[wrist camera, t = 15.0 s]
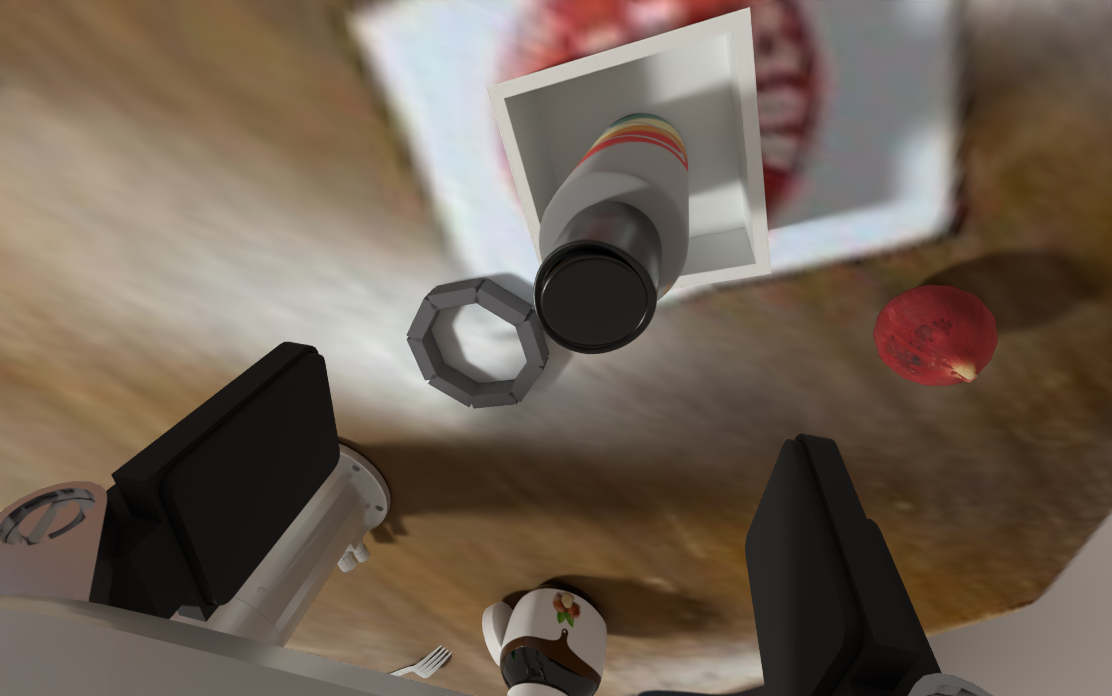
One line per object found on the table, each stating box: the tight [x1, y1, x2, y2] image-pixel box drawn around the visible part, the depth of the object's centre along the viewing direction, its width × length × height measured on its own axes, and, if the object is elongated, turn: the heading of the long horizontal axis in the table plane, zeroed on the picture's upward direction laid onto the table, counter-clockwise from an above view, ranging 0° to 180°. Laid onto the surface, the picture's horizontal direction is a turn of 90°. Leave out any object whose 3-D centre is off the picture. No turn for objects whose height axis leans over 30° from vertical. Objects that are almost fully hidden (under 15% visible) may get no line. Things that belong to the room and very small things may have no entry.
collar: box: [407, 278, 549, 408], centre depth 41 cm, size 10×10×2 cm
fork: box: [390, 645, 452, 678], centre depth 73 cm, size 3×21×3 cm, turn 137°
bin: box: [487, 7, 771, 289], centre depth 30 cm, size 12×12×7 cm
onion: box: [873, 285, 998, 386], centre depth 31 cm, size 6×6×8 cm
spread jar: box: [482, 583, 607, 696], centre depth 54 cm, size 12×11×12 cm
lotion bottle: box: [533, 113, 689, 354], centre depth 24 cm, size 6×6×20 cm
